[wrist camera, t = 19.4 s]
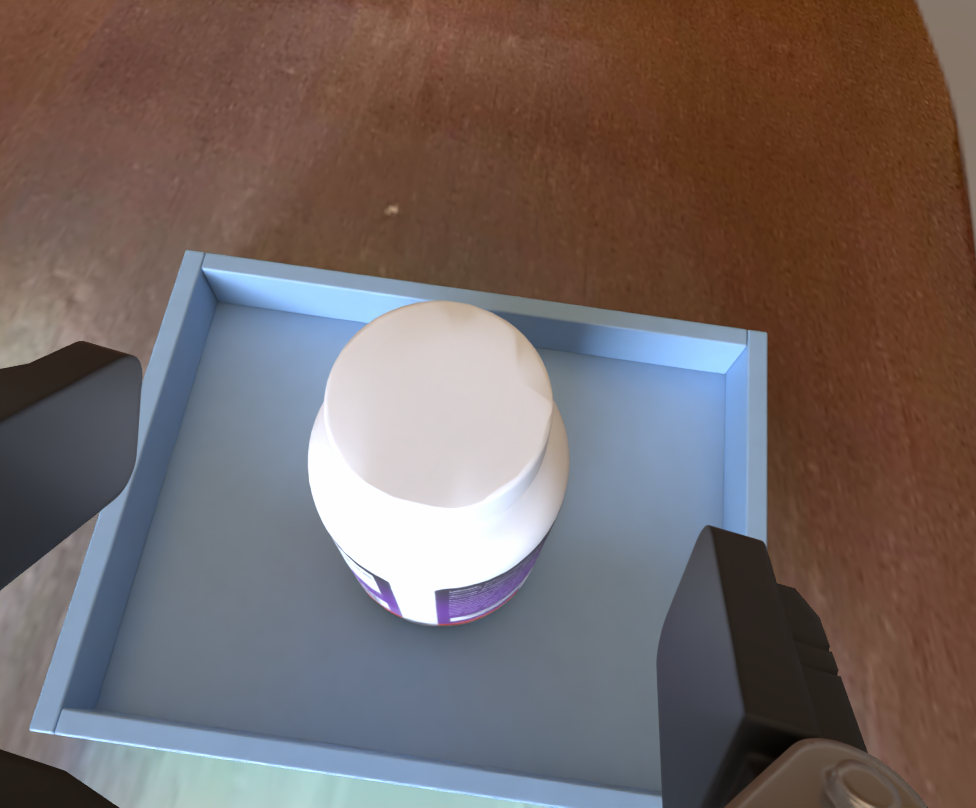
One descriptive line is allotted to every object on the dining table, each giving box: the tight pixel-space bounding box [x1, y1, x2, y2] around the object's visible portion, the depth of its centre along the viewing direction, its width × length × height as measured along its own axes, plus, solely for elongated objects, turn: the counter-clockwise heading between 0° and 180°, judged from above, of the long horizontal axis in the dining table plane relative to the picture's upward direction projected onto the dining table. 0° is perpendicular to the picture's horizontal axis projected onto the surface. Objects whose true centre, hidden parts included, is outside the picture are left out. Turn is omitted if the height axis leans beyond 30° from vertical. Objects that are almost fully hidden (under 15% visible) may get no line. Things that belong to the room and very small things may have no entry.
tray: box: [29, 250, 767, 808], centre depth 22 cm, size 17×13×2 cm
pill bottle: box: [308, 301, 570, 627], centre depth 18 cm, size 5×5×10 cm
